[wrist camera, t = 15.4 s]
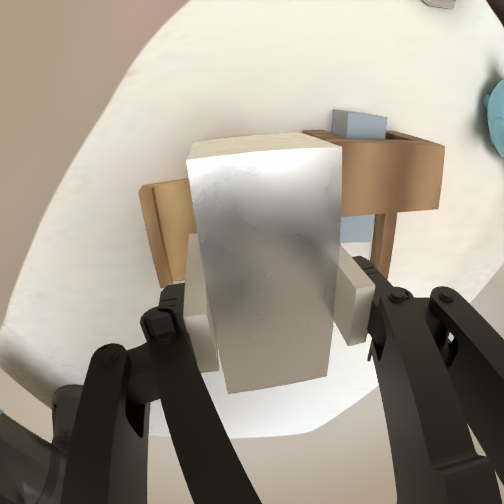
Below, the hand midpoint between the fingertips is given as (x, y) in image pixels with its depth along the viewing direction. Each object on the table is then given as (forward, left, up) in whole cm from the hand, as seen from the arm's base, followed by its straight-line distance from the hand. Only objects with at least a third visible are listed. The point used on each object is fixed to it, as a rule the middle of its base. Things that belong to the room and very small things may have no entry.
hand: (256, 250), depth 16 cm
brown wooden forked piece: (+11, -8, -14) cm, 20 cm away
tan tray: (-4, -4, -14) cm, 15 cm away
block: (0, 0, 0) cm, 0 cm away
